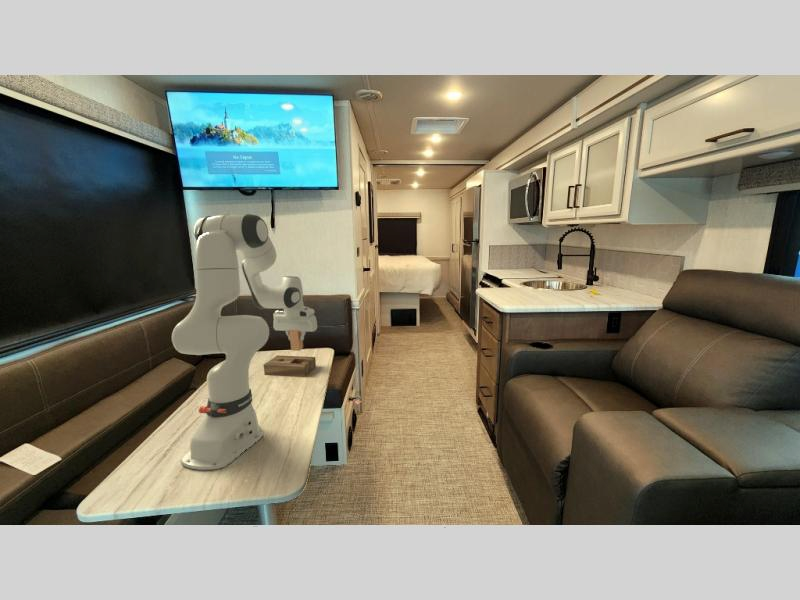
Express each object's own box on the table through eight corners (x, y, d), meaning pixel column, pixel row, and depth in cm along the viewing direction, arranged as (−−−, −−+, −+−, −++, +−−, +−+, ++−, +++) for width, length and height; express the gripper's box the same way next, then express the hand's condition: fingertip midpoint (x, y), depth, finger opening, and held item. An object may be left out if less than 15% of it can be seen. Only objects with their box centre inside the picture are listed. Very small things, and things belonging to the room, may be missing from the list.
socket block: (305, 376, 142) (304, 366, 141) (264, 374, 144) (263, 364, 144) (315, 366, 153) (315, 356, 152) (278, 364, 156) (277, 354, 155)
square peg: (299, 350, 144) (297, 330, 142) (291, 350, 145) (289, 329, 143) (303, 347, 148) (301, 327, 146) (295, 347, 149) (293, 327, 147)
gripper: (269, 312, 141) (272, 341, 144) (311, 313, 138) (313, 342, 141) (276, 309, 147) (279, 336, 150) (317, 310, 145) (319, 338, 147)
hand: (296, 339), depth 146 cm, fingers closed on square peg, 4 cm apart
